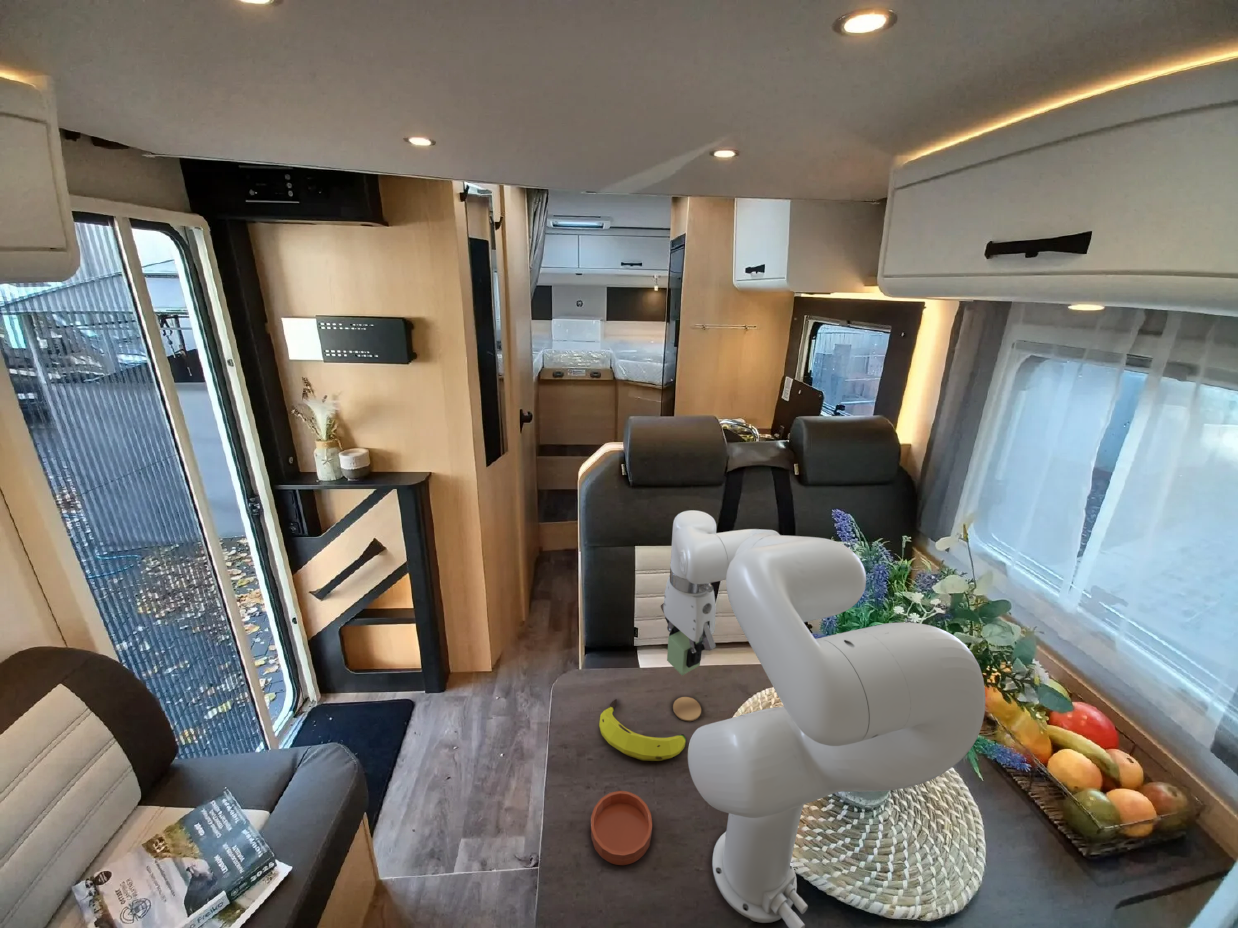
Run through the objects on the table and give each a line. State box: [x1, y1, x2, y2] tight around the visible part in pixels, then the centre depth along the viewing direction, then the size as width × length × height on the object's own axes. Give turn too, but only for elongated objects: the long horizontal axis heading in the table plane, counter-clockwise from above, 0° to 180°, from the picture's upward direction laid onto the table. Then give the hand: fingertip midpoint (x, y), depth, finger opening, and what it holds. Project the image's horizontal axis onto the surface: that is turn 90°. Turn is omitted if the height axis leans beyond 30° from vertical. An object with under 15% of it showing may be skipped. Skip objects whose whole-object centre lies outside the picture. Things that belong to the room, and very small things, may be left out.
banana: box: [598, 698, 687, 762], centre depth 97 cm, size 5×17×15 cm
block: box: [666, 631, 701, 676], centre depth 94 cm, size 5×5×6 cm
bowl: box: [590, 790, 653, 866], centre depth 80 cm, size 10×10×3 cm
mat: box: [672, 696, 702, 722], centre depth 103 cm, size 6×6×1 cm
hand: (684, 654), depth 94 cm, fingers closed on block, 4 cm apart
